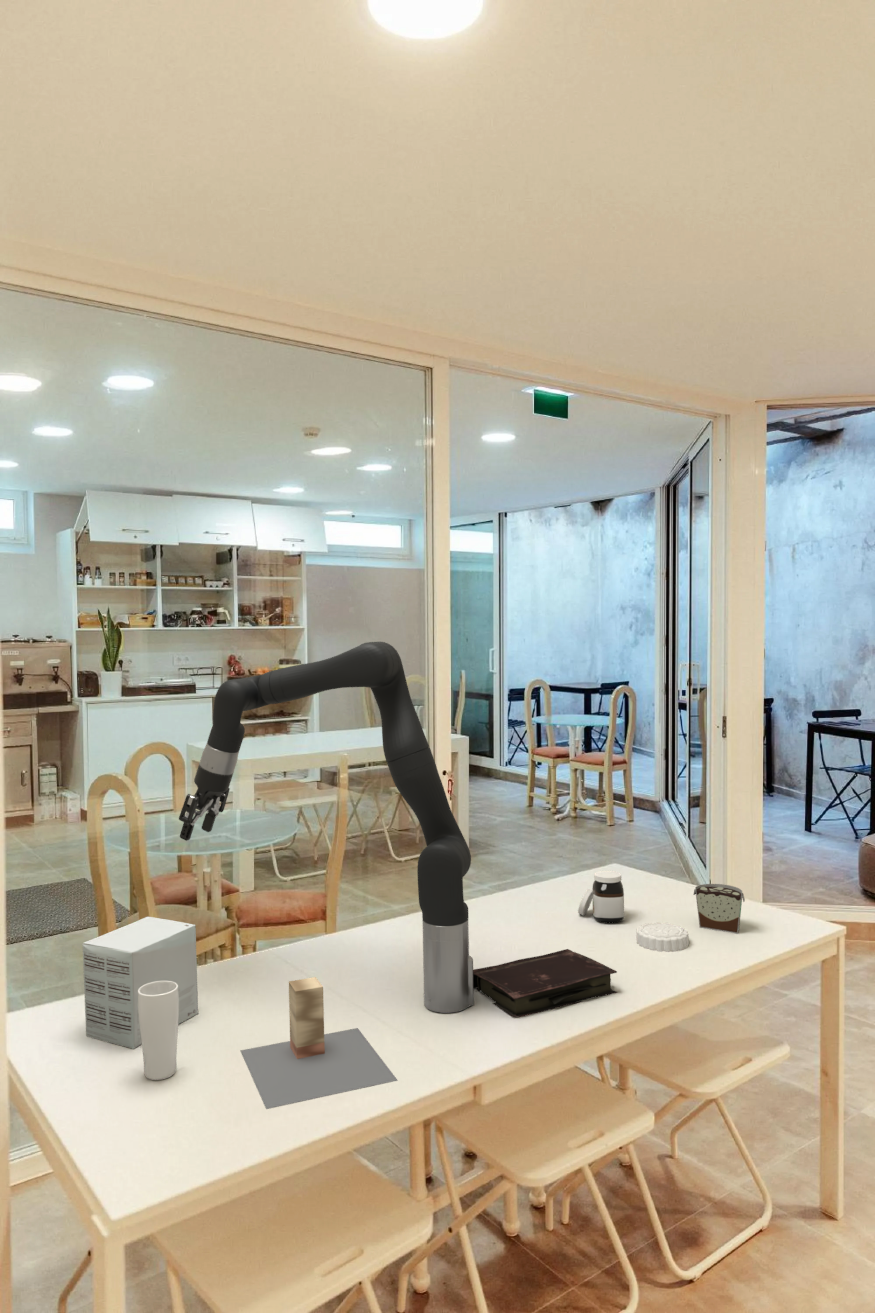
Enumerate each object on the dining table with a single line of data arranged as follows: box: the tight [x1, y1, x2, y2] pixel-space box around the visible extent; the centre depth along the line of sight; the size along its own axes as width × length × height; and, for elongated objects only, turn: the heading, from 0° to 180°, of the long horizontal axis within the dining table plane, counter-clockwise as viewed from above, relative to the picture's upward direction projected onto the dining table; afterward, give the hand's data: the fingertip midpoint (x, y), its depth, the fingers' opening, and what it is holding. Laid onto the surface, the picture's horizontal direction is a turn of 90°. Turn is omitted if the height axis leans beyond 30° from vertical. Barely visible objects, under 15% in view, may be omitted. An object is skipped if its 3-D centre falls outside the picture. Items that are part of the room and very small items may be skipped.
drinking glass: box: [138, 981, 179, 1081], centre depth 159 cm, size 7×7×15 cm
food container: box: [693, 883, 746, 934], centre depth 229 cm, size 12×6×10 cm, turn 58°
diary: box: [473, 948, 618, 1018], centre depth 192 cm, size 19×25×5 cm
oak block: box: [288, 976, 325, 1059], centre depth 166 cm, size 5×5×12 cm
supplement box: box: [82, 916, 199, 1050], centre depth 179 cm, size 17×13×18 cm
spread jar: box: [577, 870, 625, 924], centre depth 238 cm, size 12×11×12 cm
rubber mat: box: [240, 1027, 398, 1110], centre depth 160 cm, size 22×22×1 cm
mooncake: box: [635, 922, 689, 953], centre depth 219 cm, size 12×12×4 cm
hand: (195, 834), depth 202 cm, fingers open, 8 cm apart
